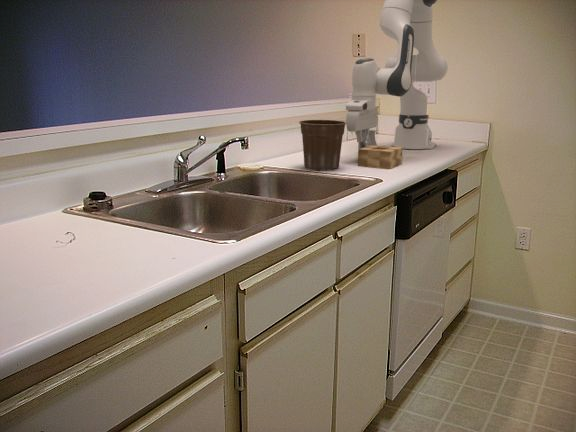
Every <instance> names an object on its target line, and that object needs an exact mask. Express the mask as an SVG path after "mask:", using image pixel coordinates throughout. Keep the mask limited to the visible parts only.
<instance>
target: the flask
mask: <svg viewBox="0 0 576 432" xmlns="http://www.w3.org/2000/svg"><path fill="white" fill-rule="evenodd" d="M376 132H377V131H376V130H375V129H369V134H368V140H367V141H366V147H368V146H371V145H375V146H378V144H377V141H376Z"/></svg>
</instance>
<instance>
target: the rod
mask: <svg viewBox="0 0 576 432" xmlns="http://www.w3.org/2000/svg"><path fill="white" fill-rule="evenodd" d="M362 137H363V142H357V145H358V146H357V150H358V149H361V148H364V147H366V142H367V141H366V129H365V130H362Z"/></svg>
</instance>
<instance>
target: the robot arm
mask: <svg viewBox="0 0 576 432" xmlns="http://www.w3.org/2000/svg"><path fill="white" fill-rule="evenodd" d="M437 1H438V0H384V3H383V4H382V5H383V6H382V9H381V13H380V17H379V26H380V29H381V31H382V32H383V34H385V35H386V36H388V37H389V38H391V39H392V40H394V41H397V45H398V47H397V55H394V56H390V57H389V58H388V59H387V60H386V62H385V65H384V67H381V66H379V65H378V64H377V63H376V60H375V59H374V58H369V57H368V58H362V59H357V60H356V61H354V64H353V68H352V76H351V77H352V78H351V85H352V92H351V99H350V100H349V101H348V102H347V103H346V104H345V110H346V116H345V118H346V119H345V120H346V121H345V122H346V125H345V127H346V130H347V131H348V132H354V133H355V136H356V142H357V143H358V142H363V137H362V130H365V129H366V142H367V140H368V134H369V130H371V129H374V128H377V127H378V122H379V121H378V120H379V119H378V109H377V107H376V104H377V103H376V102H377V98H376V95H383V96H394V97H399V99H400V101H399V102H400V103H399V104H400V110H399V111H400V112H399V113H400V114H399V115H398V125H397V126H396V127H395V128H394V129H395V130H394V131H395V132H394V138H393V139H394V140H393V143H391V144H390V147H401V148H403V149H402V150H422V149H423V150H426V149H427V150H428V149H429V150H430V149H431V150H433V149H434V148H435V147H436V146H437V142H435V141H432V138H433V137H432V135H433V133H432V131H431V128H430V127H429V124H428V122H429V121H428V120H429V118H430V117H429V114H427V109H428V96H427V94H426V93H425V92H423V91H422V90H420V89H417V88H416V87H415V86H414V83H415V82H419V83H420V82H424V83H425V82H426V83H427V82H436V81H441V80H443V78H445V76H446V74H447V72H448V62H447V60H446V58H445V57H444V56H442V54H440V53H439V52H438V50H437V49H436V47H435V45H434V42H433V34H432V33H433V29H432V28H433V5H434V4H435V3H437ZM414 49H416V50H417V52H418V54H413V53H414Z"/></svg>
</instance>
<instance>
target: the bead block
mask: <svg viewBox="0 0 576 432" xmlns="http://www.w3.org/2000/svg"><path fill="white" fill-rule="evenodd" d="M403 150H404V149H403V148H401V147H394V146H388V145H387V146H385V145H377V146H375V145H371V146H368V147H364V148H361V149H358V148H357V166H358V167H363V168H365V167H366V168H373V169H374V168H376V169H385V170H390V169H393V168H396V167H398V166H400V165H402V164H403Z"/></svg>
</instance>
